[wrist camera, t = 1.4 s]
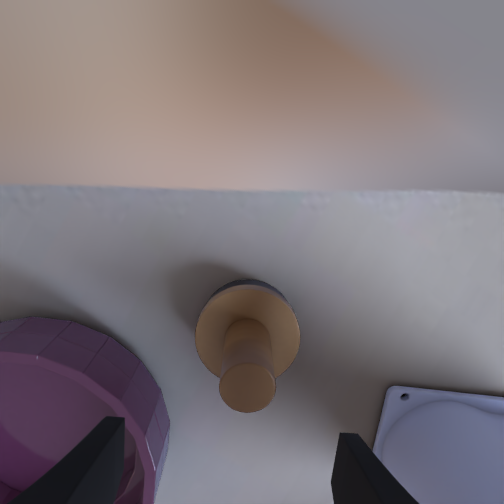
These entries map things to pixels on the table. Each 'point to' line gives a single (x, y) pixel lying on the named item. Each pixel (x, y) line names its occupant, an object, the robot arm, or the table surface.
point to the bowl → (75, 404)
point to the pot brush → (247, 341)
